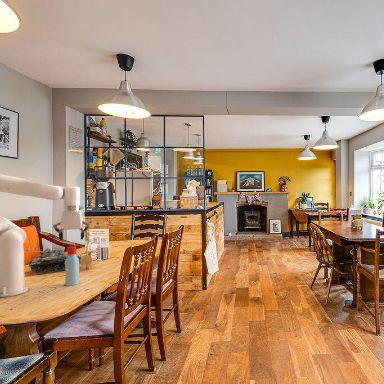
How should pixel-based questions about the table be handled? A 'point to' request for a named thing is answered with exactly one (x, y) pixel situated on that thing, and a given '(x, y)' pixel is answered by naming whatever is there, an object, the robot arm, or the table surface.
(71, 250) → the cap
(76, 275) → the bottle
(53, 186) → the robot arm
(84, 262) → the wall sconce
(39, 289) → the table surface
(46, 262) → the tank
